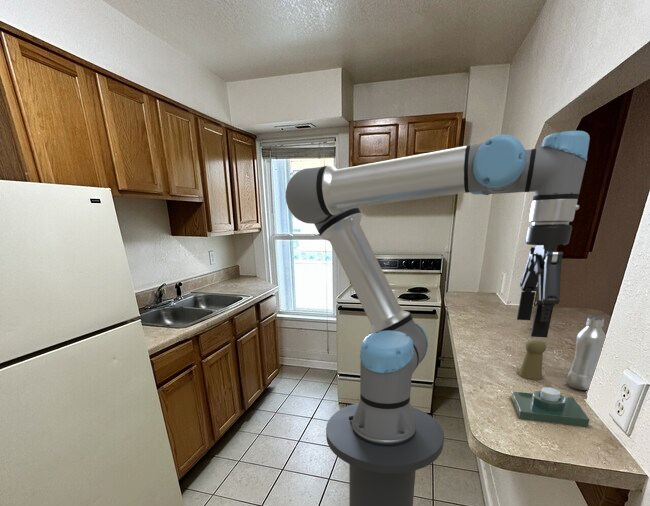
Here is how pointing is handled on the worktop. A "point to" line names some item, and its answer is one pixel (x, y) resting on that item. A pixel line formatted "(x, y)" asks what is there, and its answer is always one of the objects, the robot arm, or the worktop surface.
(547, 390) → the white push button
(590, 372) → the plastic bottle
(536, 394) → the green button base
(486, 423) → the worktop surface
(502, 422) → the worktop surface
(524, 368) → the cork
